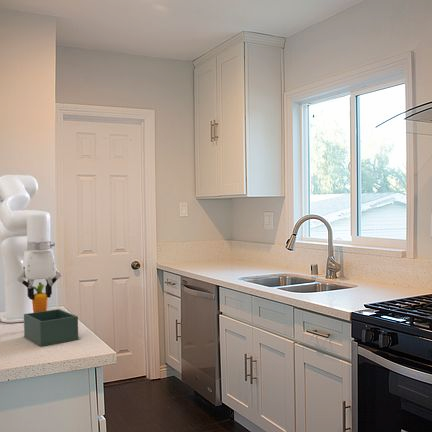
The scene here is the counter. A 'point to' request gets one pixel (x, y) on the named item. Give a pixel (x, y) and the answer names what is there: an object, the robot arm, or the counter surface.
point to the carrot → (39, 299)
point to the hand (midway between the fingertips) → (39, 297)
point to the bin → (50, 327)
